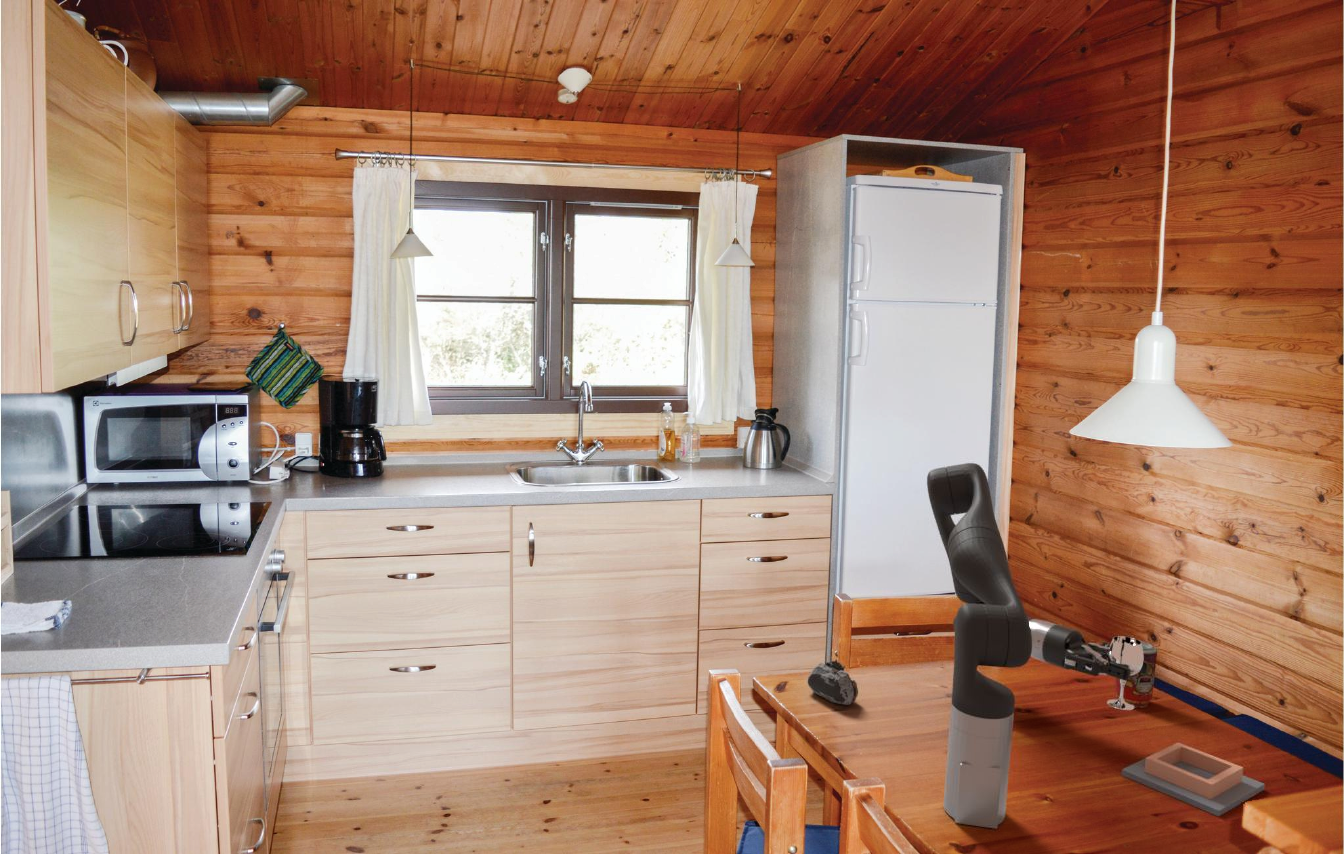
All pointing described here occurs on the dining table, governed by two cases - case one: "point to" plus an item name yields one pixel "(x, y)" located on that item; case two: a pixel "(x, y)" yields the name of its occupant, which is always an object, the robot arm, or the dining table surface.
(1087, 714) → the dining table surface
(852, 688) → the dark grey rock
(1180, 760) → the glass holder
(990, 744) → the robot arm
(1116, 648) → the wineglass
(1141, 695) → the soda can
